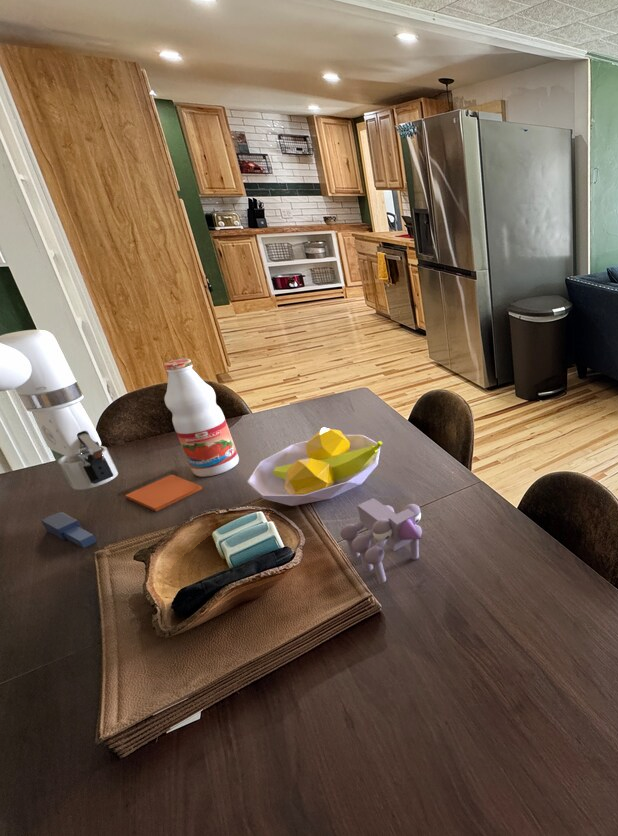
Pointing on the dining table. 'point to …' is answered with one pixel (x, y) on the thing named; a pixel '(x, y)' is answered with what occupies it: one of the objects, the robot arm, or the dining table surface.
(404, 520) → the toy sheep
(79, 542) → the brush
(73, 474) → the white round cup
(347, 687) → the dining table surface
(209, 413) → the fruit juice
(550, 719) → the dining table surface
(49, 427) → the robot arm
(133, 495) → the orange tile
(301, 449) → the fruit bowl
